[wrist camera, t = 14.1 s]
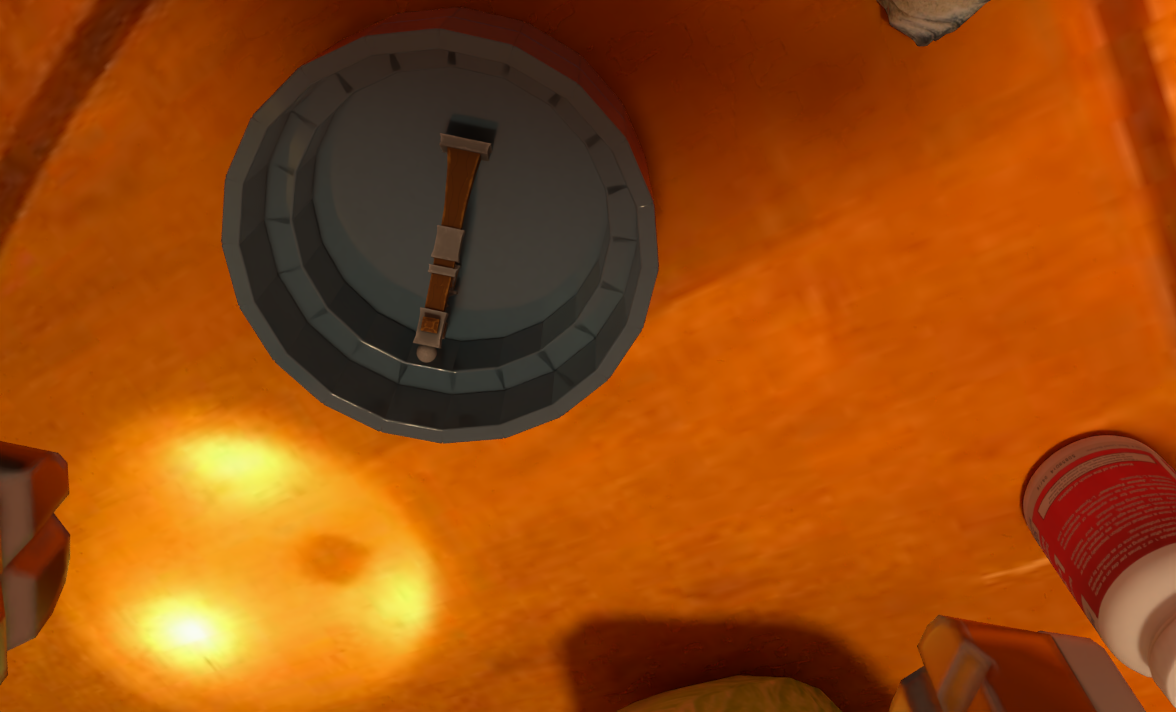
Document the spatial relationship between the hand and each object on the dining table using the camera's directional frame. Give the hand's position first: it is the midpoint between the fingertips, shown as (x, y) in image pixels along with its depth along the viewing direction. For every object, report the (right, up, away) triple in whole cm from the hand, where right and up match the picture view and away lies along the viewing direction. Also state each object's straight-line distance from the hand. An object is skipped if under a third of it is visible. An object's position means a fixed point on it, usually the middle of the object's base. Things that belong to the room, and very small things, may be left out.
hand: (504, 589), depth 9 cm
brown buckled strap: (-4, +7, +28) cm, 30 cm away
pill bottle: (+23, -4, +34) cm, 41 cm away
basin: (-4, +8, +28) cm, 30 cm away
